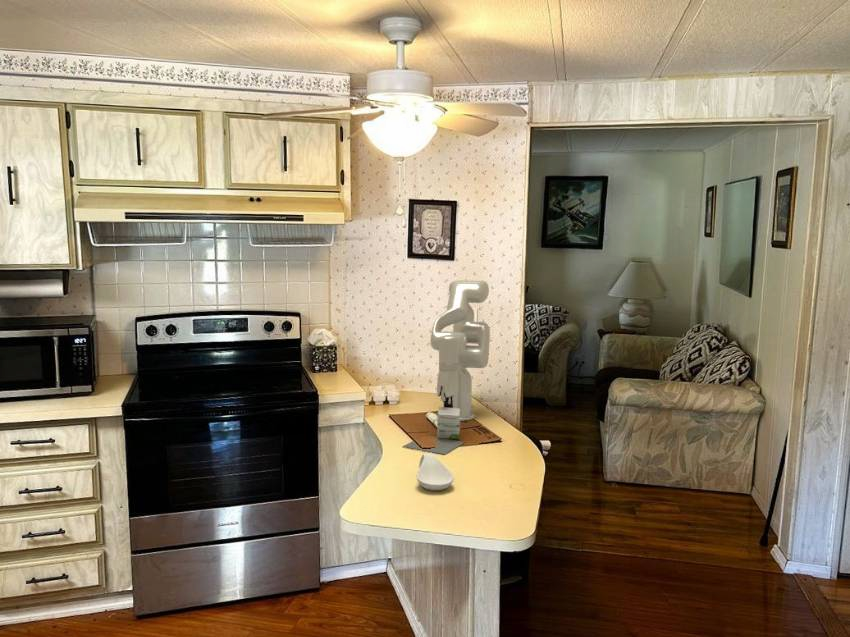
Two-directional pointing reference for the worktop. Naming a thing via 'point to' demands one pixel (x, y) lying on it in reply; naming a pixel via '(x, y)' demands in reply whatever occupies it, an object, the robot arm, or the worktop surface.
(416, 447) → the mat
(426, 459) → the spoon rest
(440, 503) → the worktop surface
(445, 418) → the ink box
